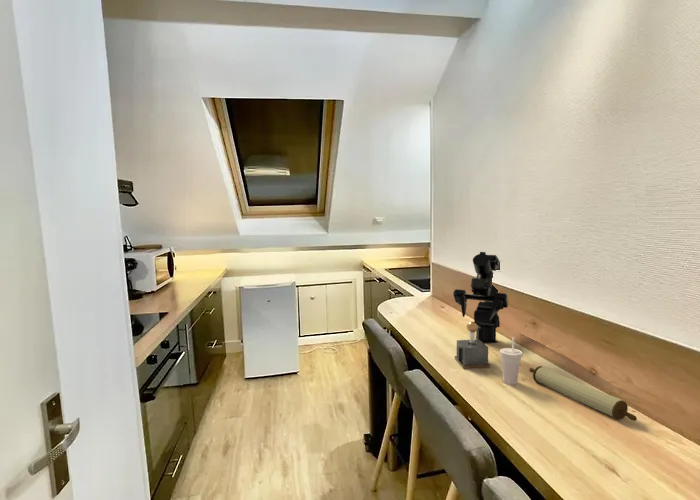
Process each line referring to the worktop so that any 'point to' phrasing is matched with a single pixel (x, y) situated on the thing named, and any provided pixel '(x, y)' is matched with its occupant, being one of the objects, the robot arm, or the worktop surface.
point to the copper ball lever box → (472, 354)
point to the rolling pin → (582, 393)
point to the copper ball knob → (472, 331)
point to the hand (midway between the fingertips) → (476, 318)
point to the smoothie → (510, 364)
